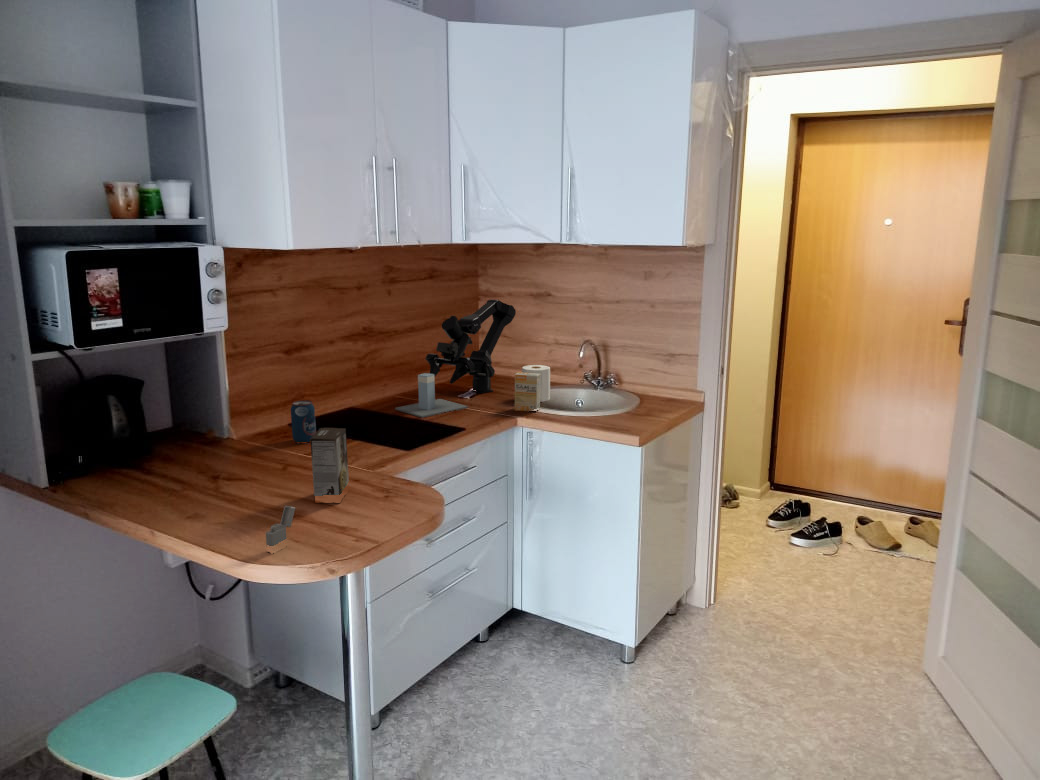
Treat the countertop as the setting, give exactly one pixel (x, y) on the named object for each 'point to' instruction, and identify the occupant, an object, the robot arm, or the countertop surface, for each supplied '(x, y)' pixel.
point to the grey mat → (439, 408)
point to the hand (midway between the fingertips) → (440, 381)
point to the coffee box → (329, 461)
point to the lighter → (280, 527)
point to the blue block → (426, 391)
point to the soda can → (303, 420)
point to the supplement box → (527, 391)
